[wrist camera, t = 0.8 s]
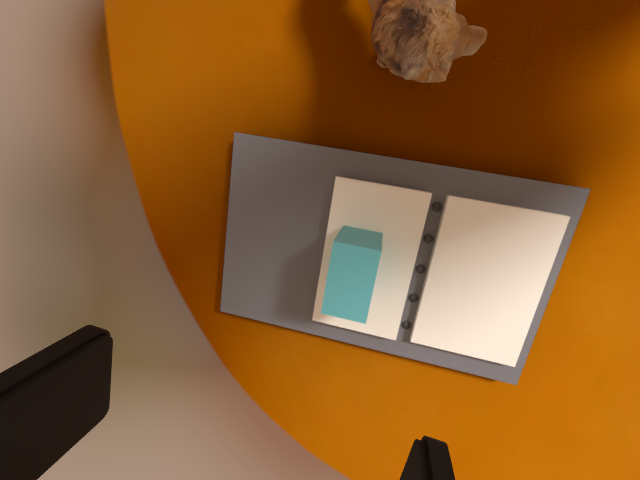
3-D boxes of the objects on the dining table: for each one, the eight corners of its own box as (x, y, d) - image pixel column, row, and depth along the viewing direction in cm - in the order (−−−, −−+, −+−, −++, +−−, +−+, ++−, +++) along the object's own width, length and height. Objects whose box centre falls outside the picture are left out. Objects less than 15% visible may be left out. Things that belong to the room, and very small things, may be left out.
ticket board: (578, 187, 24) (597, 190, 21) (509, 373, 28) (520, 391, 26) (242, 133, 28) (229, 131, 25) (227, 304, 32) (215, 315, 30)
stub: (430, 192, 24) (443, 202, 18) (395, 335, 27) (397, 380, 22) (337, 176, 25) (323, 181, 19) (314, 315, 28) (296, 354, 23)
